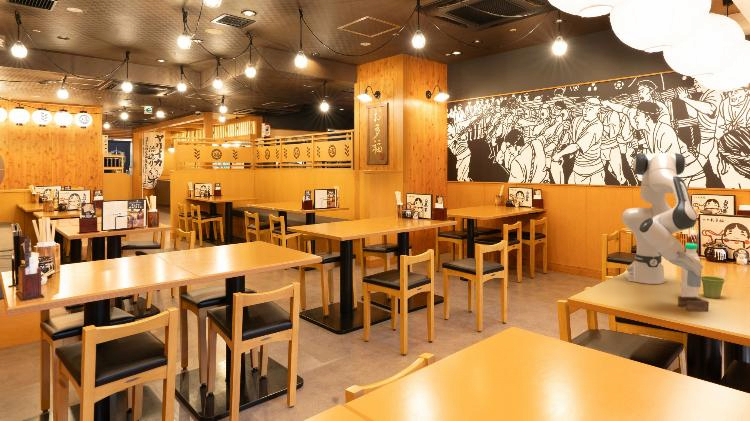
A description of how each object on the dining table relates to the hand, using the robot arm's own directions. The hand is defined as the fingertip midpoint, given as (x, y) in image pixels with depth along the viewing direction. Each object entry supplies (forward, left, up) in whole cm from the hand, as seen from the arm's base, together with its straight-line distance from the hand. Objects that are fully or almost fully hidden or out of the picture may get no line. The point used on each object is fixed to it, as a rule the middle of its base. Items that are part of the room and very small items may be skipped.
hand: (695, 273), depth 201 cm
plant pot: (-20, +18, -15) cm, 31 cm away
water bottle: (-18, +7, -15) cm, 25 cm away
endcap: (0, -1, -15) cm, 15 cm away
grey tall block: (0, -1, -5) cm, 5 cm away
